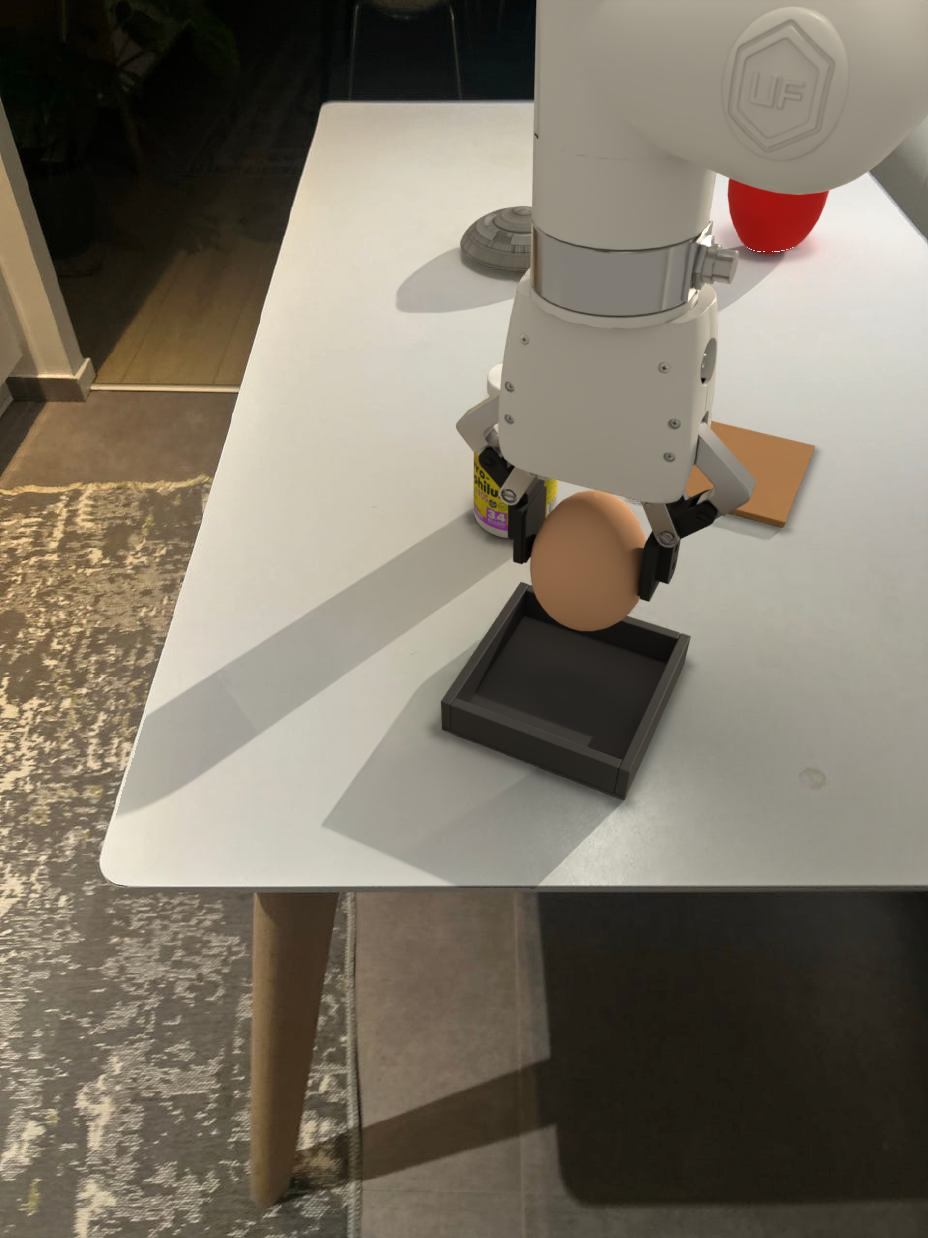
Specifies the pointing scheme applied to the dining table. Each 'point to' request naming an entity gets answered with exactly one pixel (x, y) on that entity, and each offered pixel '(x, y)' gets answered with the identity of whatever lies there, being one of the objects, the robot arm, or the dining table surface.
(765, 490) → the plate
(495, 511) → the supplement bottle
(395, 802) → the dining table surface
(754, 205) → the tomato
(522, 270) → the flying saucer
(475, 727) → the tray
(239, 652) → the dining table surface
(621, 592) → the egg
